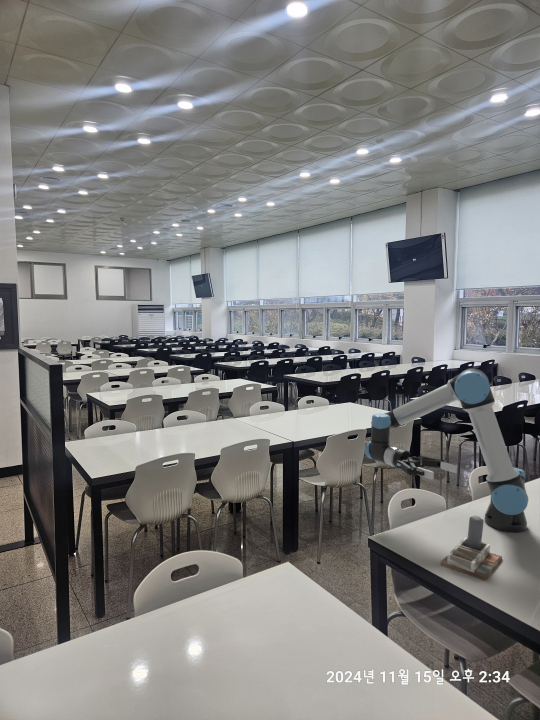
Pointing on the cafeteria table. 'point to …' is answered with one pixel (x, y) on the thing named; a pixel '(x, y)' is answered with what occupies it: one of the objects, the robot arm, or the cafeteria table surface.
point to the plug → (475, 533)
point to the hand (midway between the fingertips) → (445, 472)
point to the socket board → (472, 560)
